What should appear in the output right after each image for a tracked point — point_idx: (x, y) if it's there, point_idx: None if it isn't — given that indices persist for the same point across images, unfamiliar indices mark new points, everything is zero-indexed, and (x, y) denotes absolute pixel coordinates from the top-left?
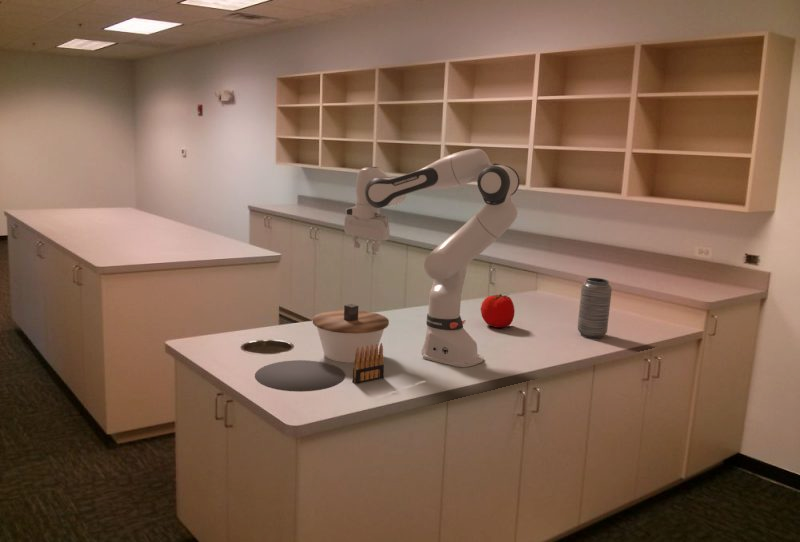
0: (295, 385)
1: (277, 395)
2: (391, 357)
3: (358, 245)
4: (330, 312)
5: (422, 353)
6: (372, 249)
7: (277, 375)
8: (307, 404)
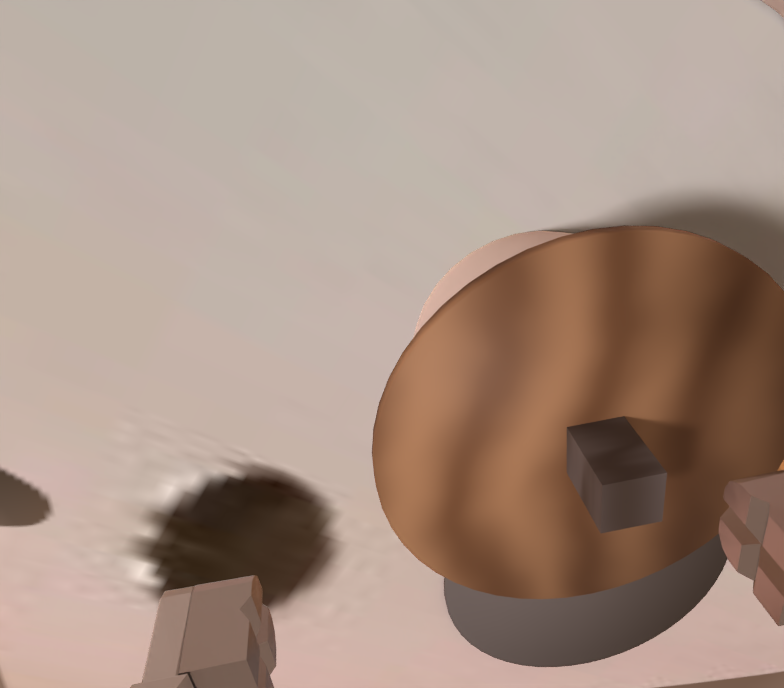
0: (648, 607)
1: (655, 648)
2: (670, 187)
3: (254, 641)
4: (401, 469)
5: (766, 2)
6: (753, 575)
7: (549, 619)
8: (754, 614)
